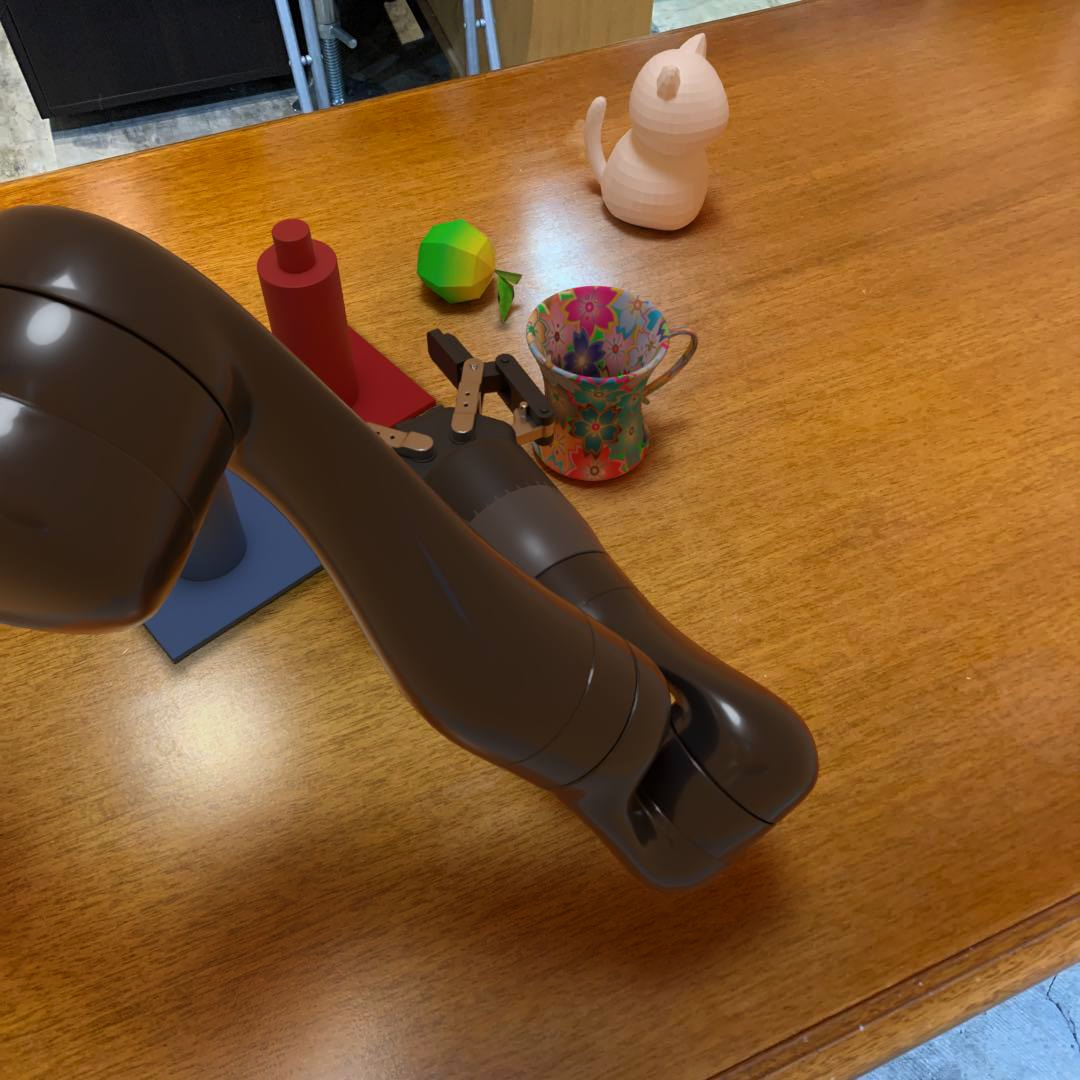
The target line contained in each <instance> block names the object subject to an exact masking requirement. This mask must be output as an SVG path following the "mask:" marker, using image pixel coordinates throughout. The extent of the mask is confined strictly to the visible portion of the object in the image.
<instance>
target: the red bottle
mask: <svg viewBox="0 0 1080 1080" xmlns="http://www.w3.org/2000/svg"><path fill="white" fill-rule="evenodd" d="M271 237H272V241H273V244H271V245H270V246H268V247H267V248H266V249H265V250H264V251H262V252H261V254H260V255H259V257H258V258H257V261H256V273H257V276H258V279H259V284H260V289H261V293H262V297H263V301H264V302H263V303H264V305H265V309H266V313H267V318H268V319H267V320H268V322H269V328H270V332H271V333H272V334H273V335H274V336H275V337H277V338H278V339H279V340H280V341H281V342H282V343H283V344H284V345H285V346H286V347H287V348H288V349H289V350H290V351H291V352H292V353H293V354H294V355H295V356H296V357H297V358H299V359H300V360H301V361H302V362H303V363H304V364H305V365H306V366H307V367H308V368H309V369H310V370H311V371H312V372H313V373H314V374H315V375H316V376H317V377H318V378H319V379H320V380H321V381H323V382H324V383H325V384H326V385H327V386H328V387H329V388H330V389H331V390H332V391H333V392H334V393H335V394H336V395H337V396H338V397H339V398H340V399H341V400H342V401H343V402H345V403H346V404H347V405H348V406H349V407H350V408H351V407H352V406H353V405H354V404H355V402H356V400H357V398H358V385H357V378H356V372H355V366H354V360H353V354H352V348H351V341H350V335H349V329H348V326H349V323H348V318H347V311H346V306H345V298H344V293H343V285H342V281H341V275H340V268H339V262H338V256H337V254H336V251H335V250H334V249H333V248H332V247H331V246H330V245H329V244H327V243H326V242H324V241H321V240H318V239H315V238H312V234H311V228H310V225H309V224H308V223H307V222H306V221H304V220H303V219H299V218H286V219H285V218H284V219H283V220H280V221H278V222H276V223H275V224H273V226H272V228H271Z"/></svg>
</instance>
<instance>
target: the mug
mask: <svg viewBox="0 0 1080 1080" xmlns="http://www.w3.org/2000/svg"><path fill="white" fill-rule="evenodd" d="M681 335H686V336H689V337H690V342H689V344H688V345H687V348H686V349H685V350H684V352H683V354H682V355H681V356H680V357H679V358H678V359H677V360H676V362H675V363H674V364H673V365H672V366H671V367H670V368H669V369H668V370H667V371H665V372H664V373H663V374H661V375H659V377H657V378H656V379H654V380H653V381H651V382H650V383H648V381H649V380H650V377H651V376H652V374H653V372H654V371H655V369H656V368H657V367H658V366H659V365H660V364H661V362H662V361H663V360H664V358H665V357H666V355H667V353H668V351H669V347H670V344H671V343H670V342H671V339H672V338H674V337H677V336H681ZM525 339H526V343H527V346H528V349H529V351H530V352H531V353H530V354H531V355H532V356H533V358H534V359H535V361H536V363H537V365H538V367H539V370H540V372H541V376H542V380H543V386H544V387H543V389H544V395H545V397H546V398H547V399H548V400H549V402H550V403H551V404H552V405H553V407H554V409H555V418H554V440H553V442H552V444H550V445H548V446H539V445H537V444H536V443H535V442H534V441H531V444H532V447H533V449H534V451H535V453H536V455H537V456H538V457H539V459H540V460H541V461H542V462H543V464H545V465H546V466H547V467H549V468H550V469H552V470H553V471H555V472H556V473H558V474H560V475H562V476H565V477H567V478H571V479H574V480H580V481H588V482H591V481H592V482H594V481H595V482H597V481H606V480H611V479H614V478H617V477H620V476H622V475H624V474H627V473H628V472H630V471H632V470H633V469H634V468H636V467H637V466H638V465H639V464H640V463H641V461H643V459H644V458H645V456H646V454H647V453H648V449H649V446H650V442H651V436H650V428H649V426H648V423H647V421H646V418H645V417H644V415H643V409H642V407H643V405H646V406H649V405H650V403H651V401H650V399H649V398H648V396H650V395H651V394H653V393H654V392H656V391H657V390H659V389H661V388H662V387H664V386H665V385H667V384H668V383H669V382H670V381H672V380H673V379H674V378H676V376H677V375H678V374H679V373H680V372H681V371H682V370H683V369H684V368H685V367H686V366H687V365H688V364H689V362H690V361H691V360H692V358H693V357H694V355H695V353H696V352H697V349H698V347H699V336H698V333H697V332H696V331H695V330H694V329H693V328H692V327H691V326H687V325H675V326H672V327H669V325H668V322H667V320H666V318H665V316H664V315H663V314H662V312H661V311H660V310H659V308H657V307H656V306H655V305H654V304H653V303H651V302H650V301H648V300H647V299H646V298H644V297H642V296H640V295H638V294H637V293H634V292H631V291H628V290H625V289H622V288H619V287H613V286H606V285H584V286H576V287H571V288H568V289H565V290H562V291H561V290H560V291H558V292H556V293H554V294H551V295H550V296H548V297H547V298H546V299H544V300H543V301H541V302H540V303H539V304H538V305H537V306H536V307H535V308H534V309H533V311H532V312H531V314H530V316H529V318H528V320H527V322H526V327H525ZM647 383H648V384H647ZM642 404H643V405H642Z"/></svg>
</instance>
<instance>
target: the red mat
mask: <svg viewBox="0 0 1080 1080" xmlns="http://www.w3.org/2000/svg"><path fill="white" fill-rule="evenodd" d="M348 329H349V335H350V341H351V348H352V354H353V360H354V366H355V372H356V378H357V385H358V398H357V400H356V402H355V404H354V405H353V406H352V407H351V409H352V410H353V411H354V412H355V413H356V414H357V415H358V416H360V417H361V418H362V419H363V420H364V421H365V422H370V423H374V424H377V425H381V426H384V427H388V428H392V429H395V424H398V423H400V422H402V421H405V420H408V419H412V418H416V417H417V416H418V415H420V414H421V413H424V412H425V411H428V409H431V407H432V408H433V407H434V406H435V405H437V401H436V399H435V398H434V397H433V396H432V395H431V394H430V393H429V392H428V391H426V390H425V389H424V388H423V387H422V386H421V385H419V384H418V383H417V382H415V381H414V379H412V378H411V377H410V376H409V375H407V373H405V372H404V371H403V370H402V369H400V368H399V367H398V366H397V365H396V364H395V363H393V361H391V360H389V359H388V358H387V357H386V356H385V355H384V354H383V353H381V351H380V350H378V349H377V348H376V347H375V346H373V345H372V344H371V343H370V342H368V340H366V339H365V337H363V336H362V335H360V334H359V333H358V332H357V331H355V330H354V329H353V328H352V327H351V326H350V325H348Z"/></svg>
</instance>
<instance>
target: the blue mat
mask: <svg viewBox="0 0 1080 1080" xmlns="http://www.w3.org/2000/svg"><path fill="white" fill-rule="evenodd" d="M225 474H226V477H227V481H228V484H229V487H230V490H231V493H232V496H233V499H234V502H235V505H236V508H237V512H238V515H239V518H240V521H241V524H242V527H243V530H244V533H245V536H246V541H247V546H246V551H245V554H244V556H243V558H242V559H241V561H240V562H239V563H238V565H237V566H236V567H234V568H233V569H232V570H231V571H229V572H228V573H226V574H224V575H222V576H220V577H217V578H214V579H210V580H202V581H197V580H190V579H186V578H183V577H181V576H179V578H178V580H177V582H176V584H175V586H174V588H173V589H172V591H171V593H170V594H169V596H168V598H167V599H166V600H165V602H164V603H163V605H162V606H161V607H160V609H159V610H158V612H157V613H156V614H155V615H154V616H153V617H152V618H150V619H149V620H147V621H146V622H145V623H143V624H142V625H143V626H144V627H145V629H146V630H147V631H148V632H149V633H150V635H152V637H153V638H154V640H155V641H156V642H157V644H159V646H160V647H161V649H162V650H164V652H165V653H166V654H167V655H168V657H169V658H170V659H171V660H172V662H173V663H175V664H176V663H178V662H180V661H181V660H183V659H184V658H185V657H187V656H189V655H190V654H192V653H193V652H195V651H197V650H199V648H201V647H203V646H204V645H207V644H208V643H209V642H210V641H212V640H213V639H215V638H217V637H218V636H220V635H222V634H223V633H225V632H226V631H228V630H229V629H231V628H232V627H234V626H236V625H237V624H238V623H240V622H242V621H243V620H245V619H247V618H249V617H250V616H252V614H254V613H256V612H257V611H259V610H260V609H262V608H264V607H265V606H267V605H269V604H270V603H271V602H273V601H274V600H276V599H277V598H279V597H281V596H282V595H284V594H286V593H287V592H289V591H290V590H292V589H293V588H295V587H296V586H298V585H300V584H301V583H303V582H304V581H306V580H307V579H308V578H311V577H312V576H313V575H315V574H316V573H318V572H319V571H321V570H322V569H324V567H323V566H322V564H321V563H320V562H319V560H318V559H317V558H316V556H315V555H314V554H313V552H312V551H311V549H310V548H309V547H308V545H307V544H306V543H305V541H304V540H303V538H302V537H301V536H300V535H299V533H298V532H297V531H296V530H295V529H294V528H293V526H292V525H291V524H290V523H289V522H288V521H287V520H286V518H285V517H284V516H283V515H282V514H281V513H280V512H279V511H278V510H277V509H276V508H275V507H273V506H272V505H271V504H270V503H269V502H268V501H267V500H266V499H265V498H264V497H263V496H261V495H260V494H259V493H258V492H257V491H255V490H254V489H253V488H252V487H250V486H249V485H248V484H247V483H245V482H244V481H243V480H241V479H240V478H238V477H237V476H236V475H234V474H233V473H231V472H230V471H228V470H227V469H226V470H225Z"/></svg>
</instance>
